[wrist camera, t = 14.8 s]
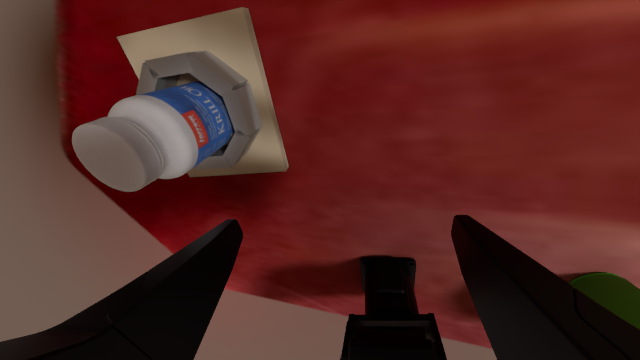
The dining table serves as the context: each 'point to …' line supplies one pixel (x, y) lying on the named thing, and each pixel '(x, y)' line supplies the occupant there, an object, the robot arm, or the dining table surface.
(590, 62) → the dining table surface
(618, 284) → the cup
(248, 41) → the collar
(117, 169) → the pill bottle
